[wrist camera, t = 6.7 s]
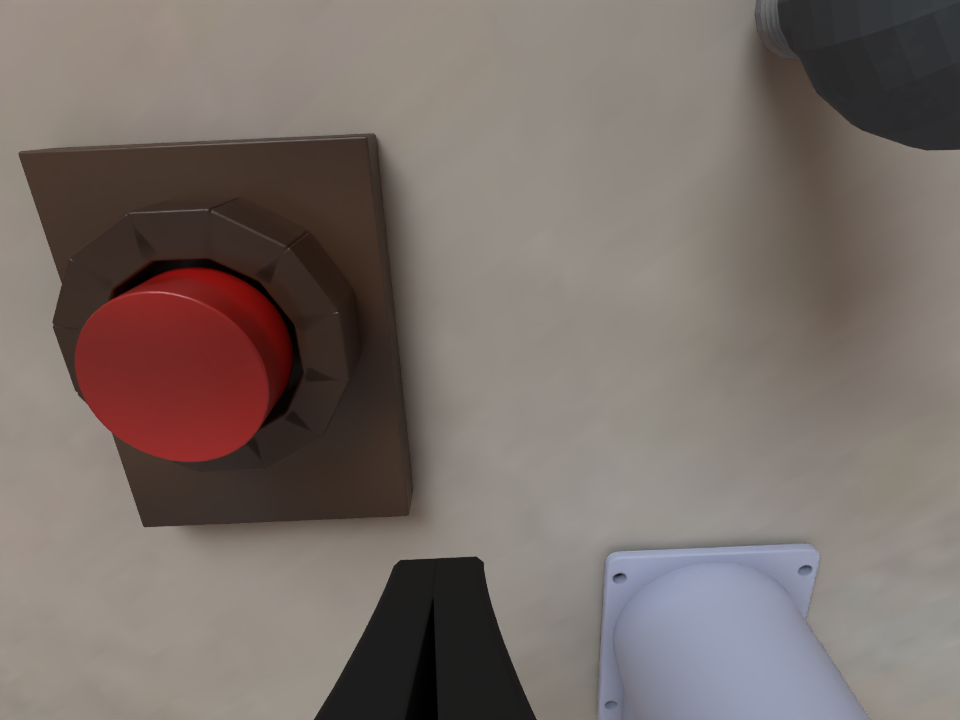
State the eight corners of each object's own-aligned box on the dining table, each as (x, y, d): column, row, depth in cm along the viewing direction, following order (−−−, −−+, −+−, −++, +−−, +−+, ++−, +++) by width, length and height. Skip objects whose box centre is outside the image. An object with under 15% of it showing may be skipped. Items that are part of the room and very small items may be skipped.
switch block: (413, 489, 21) (402, 558, 18) (164, 500, 21) (109, 571, 18) (376, 133, 16) (352, 140, 13) (54, 147, 16) (-48, 158, 13)
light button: (306, 416, 16) (283, 459, 14) (149, 423, 16) (105, 467, 14) (278, 262, 15) (248, 286, 13) (102, 270, 15) (45, 295, 13)
